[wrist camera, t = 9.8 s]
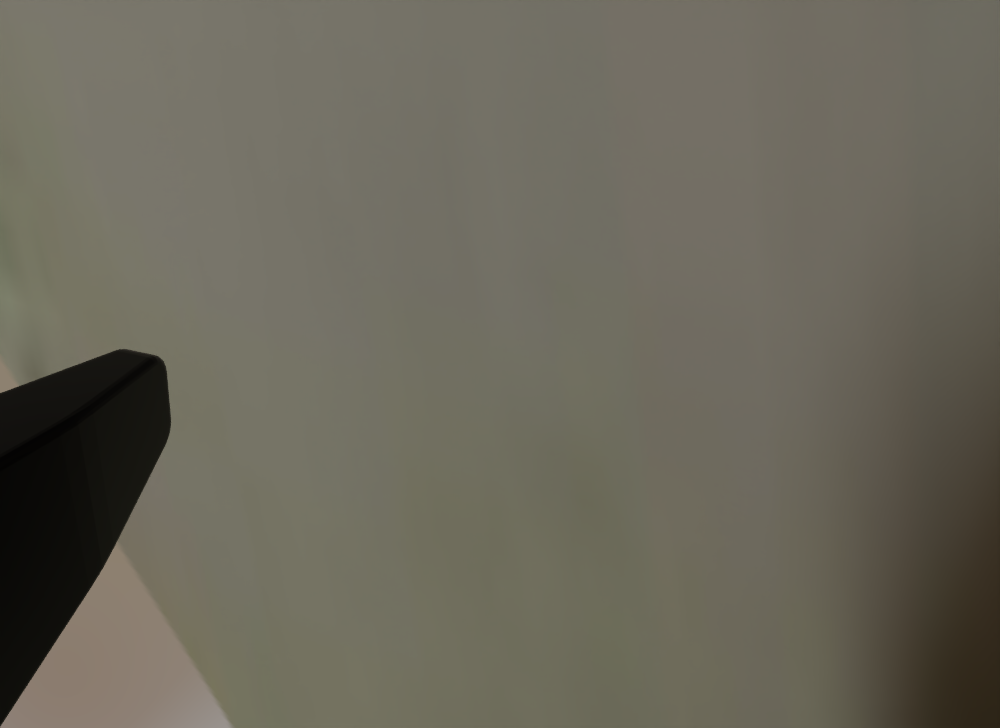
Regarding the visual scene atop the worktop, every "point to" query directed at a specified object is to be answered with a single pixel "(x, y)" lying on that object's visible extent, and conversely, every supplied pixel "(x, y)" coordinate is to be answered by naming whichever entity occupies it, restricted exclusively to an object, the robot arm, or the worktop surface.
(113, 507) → the robot arm
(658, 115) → the worktop surface
